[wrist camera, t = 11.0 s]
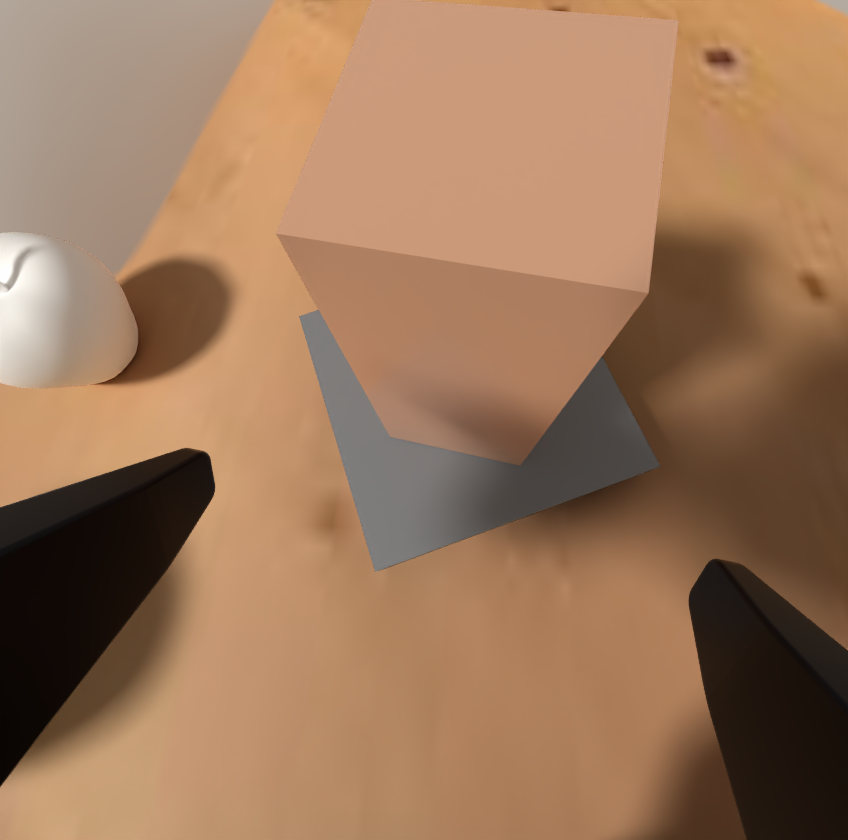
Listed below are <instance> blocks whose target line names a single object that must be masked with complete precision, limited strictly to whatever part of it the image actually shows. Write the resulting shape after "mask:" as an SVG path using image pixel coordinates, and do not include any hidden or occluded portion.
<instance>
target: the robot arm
mask: <svg viewBox="0 0 848 840" xmlns="http://www.w3.org/2000/svg"><path fill="white" fill-rule="evenodd" d="M214 492H215V482H214V476H213V471H212V465H211V459H210V456H209V455H208V454H207V453H206V452H204V451H200V450H195V449H191V448H183V449H180V450H177V451H173V452H170V453H167V454H164V455H161V456H158V457H155V458H152V459H149V460H146V461H143V462H139V463H136V464H133V465H130V466H127V467H124V468H121V469H118V470H115V471H112V472H109V473H105V474H102V475H99V476H96V477H93V478H90V479H87V480H84V481H81V482H78V483H74V484H71V485H68V486H65V487H62V488H59V489H56V490H53V491H50V492H47V493H44V494H40V495H37V496H34V497H31V498H28V499H25V500H22V501H19V502H16V503H13V504H10V505H6V506H3V507H0V787H1V785H2V784H3V783H4V781H5V780H6V779H7V778H8V776H9V775H10V774H11V772H12V771H13V770H14V768H15V767H16V766H17V765H18V763H19V762H20V761H21V759H22V758H23V757H24V755H25V754H26V753H27V752H28V750H29V749H30V748H31V746H32V745H33V744H34V742H35V741H36V740H37V739H38V737H39V736H40V735H41V733H42V732H43V731H44V729H45V728H46V727H47V726H48V724H49V723H50V722H51V720H52V719H53V718H54V716H55V715H56V714H57V713H58V711H59V710H60V709H61V707H62V706H63V705H64V703H65V702H66V701H67V700H68V698H69V697H70V696H71V694H72V693H73V692H74V690H75V689H76V688H77V687H78V685H79V684H80V683H81V681H82V680H83V679H84V677H85V676H86V675H87V674H88V672H89V671H90V670H91V668H92V667H93V666H94V664H95V663H96V662H97V661H98V659H99V658H100V657H101V655H102V654H103V653H104V651H105V650H106V649H107V648H108V646H109V645H110V644H111V642H112V641H113V640H114V638H115V637H116V636H117V635H118V633H119V632H120V631H121V629H122V628H123V627H124V625H125V624H126V623H127V622H128V620H129V619H130V618H131V616H132V615H133V614H134V612H135V611H136V610H137V609H138V607H139V606H140V605H141V603H142V602H143V601H144V599H145V598H146V597H147V596H148V594H149V593H150V592H151V590H152V589H153V588H154V586H155V585H156V584H157V583H158V581H159V580H160V579H161V577H162V576H163V575H164V573H165V572H166V570H167V569H168V568H169V566H170V565H171V563H172V562H173V560H174V559H175V557H176V556H177V554H178V553H179V551H180V549H181V548H182V546H183V545H184V543H185V541H186V540H187V538H188V537H189V535H190V533H191V532H192V530H193V529H194V527H195V525H196V524H197V522H198V521H199V519H200V517H201V516H202V514H203V513H204V511H205V509H206V508H207V506H208V505H209V503H210V501H211V500H212V498H213V495H214ZM689 609H690V615H691V620H692V626H693V631H694V637H695V642H696V648H697V653H698V659H699V664H700V670H701V675H702V681H703V686H704V691H705V695H706V700H707V704H708V707H709V711H710V715H711V718H712V722H713V725H714V729H715V732H716V736H717V739H718V743H719V746H720V749H721V753H722V756H723V760H724V763H725V767H726V770H727V774H728V777H729V780H730V784H731V787H732V791H733V794H734V798H735V801H736V805H737V808H738V812H739V815H740V818H741V822H742V825H743V829H744V832H745V836H746V839H747V840H848V651H847V650H846V649H845V648H844V647H843V646H841V645H840V644H839V643H838V642H836V641H835V640H834V639H833V638H832V637H830V636H829V635H828V634H827V633H825V632H824V631H823V630H822V629H821V628H819V627H818V626H817V625H816V624H814V623H813V622H812V621H811V620H810V619H808V618H807V617H806V616H805V615H803V614H802V613H801V612H800V611H799V610H797V609H796V608H795V607H794V606H792V605H791V604H790V603H789V602H788V601H786V600H785V599H784V598H783V597H781V596H780V595H779V594H778V593H776V592H775V591H774V590H773V589H772V588H770V587H769V586H768V585H767V584H765V583H764V582H763V581H762V580H761V579H759V578H758V577H757V576H756V575H754V574H753V573H752V572H751V571H750V570H748V569H747V568H746V567H745V566H743V565H741V564H739V563H735V562H730V561H725V560H720V559H713V560H711V561H710V562H708V564H707V565H706V567H705V568H704V570H703V571H702V573H701V575H700V576H699V578H698V579H697V581H696V583H695V584H694V586H693V587H692V589H691V591H690V594H689Z"/></svg>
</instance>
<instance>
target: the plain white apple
mask: <svg viewBox="0 0 848 840" xmlns="http://www.w3.org/2000/svg"><path fill="white" fill-rule="evenodd" d="M137 346H138V327H137V324H136V320H135V318H134V315H133V313H132V310H131V308H130V306H129V303H128V301H127V299H126V296H125V294H124V292H123V290H122V288H121V286H120V285H119V283H118V282H117V281H116V279H115V278H114V276H113V275H112V274H111V272H110V271H109V270H108V269H107V268H106V267H105V266H104V265H103V264H102V263H101V262H100V261H98V260H97V259H96V258H95V257H94V256H93V255H91V254H90V253H89V252H87V251H85V250H84V249H82V248H80V247H78V246H76V245H74V244H72V243H70V242H67V241H65V240H61V239H57V238H53V237H50V236H45V235H40V234H34V233H25V232H6V233H1V234H0V383H2V384H6V385H9V386H14V387H19V388H60V387H76V386H86V385H92V384H97V383H101V382H105V381H107V380H110V379H112V378H114V377H116V376H117V375H118V374H119V373H121V372H122V371H123V370H124V368H125V367H126V366H127V365H128V364H129V363H130V361H131V360H132V359H133V357H134V355H135V354H136V351H137Z"/></svg>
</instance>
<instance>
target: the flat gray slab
mask: <svg viewBox="0 0 848 840" xmlns="http://www.w3.org/2000/svg"><path fill="white" fill-rule="evenodd" d="M299 317H300V321H301V324H302V327H303V331H304V334H305V338H306V341H307V344H308V348H309V351H310V354H311V358H312V361H313V364H314V368H315V371H316V374H317V378H318V381H319V385H320V388H321V391H322V395H323V398H324V401H325V405H326V408H327V411H328V415H329V418H330V422H331V425H332V428H333V432H334V435H335V438H336V442H337V445H338V448H339V452H340V455H341V458H342V462H343V465H344V469H345V472H346V475H347V479H348V482H349V485H350V489H351V492H352V495H353V499H354V502H355V506H356V509H357V512H358V516H359V519H360V522H361V526H362V529H363V532H364V536H365V539H366V543H367V546H368V549H369V553H370V556H371V559H372V563H373V566H374V569H375V572H376V571H379V570H382V569H386V568H388V567H391V566H394V565H396V564H399V563H402V562H404V561H407V560H410V559H413V558H415V557H418V556H421V555H423V554H426V553H429V552H432V551H434V550H437V549H440V548H442V547H445V546H448V545H451V544H453V543H456V542H459V541H461V540H464V539H467V538H469V537H472V536H475V535H478V534H480V533H483V532H486V531H488V530H491V529H494V528H497V527H499V526H502V525H505V524H507V523H510V522H513V521H516V520H518V519H521V518H524V517H526V516H529V515H532V514H535V513H537V512H540V511H543V510H545V509H548V508H551V507H553V506H556V505H559V504H562V503H564V502H567V501H570V500H572V499H575V498H578V497H581V496H583V495H586V494H589V493H591V492H594V491H597V490H600V489H602V488H605V487H608V486H610V485H613V484H616V483H618V482H621V481H624V480H627V479H629V478H632V477H635V476H637V475H640V474H642V473H645V472H648V471H650V470H653V469H655V468H658V467H660V464H659V462H658V461H657V459H656V457H655V455H654V453H653V451H652V449H651V447H650V446H649V444H648V442H647V440H646V438H645V436H644V434H643V432H642V430H641V429H640V427H639V425H638V423H637V421H636V419H635V417H634V415H633V414H632V412H631V410H630V408H629V406H628V404H627V402H626V400H625V399H624V397H623V395H622V393H621V391H620V389H619V387H618V385H617V383H616V382H615V380H614V378H613V376H612V374H611V372H610V370H609V368H608V367H607V365H606V363H605V361H604V359H603V357H601V358H600V359H599V361H598V362H597V363H596V365H595V366H594V367H593V369H592V370H591V371H590V373H589V374H588V375H587V377H586V378H585V379H584V381H583V382H582V383H581V385H580V386H579V387H578V389H577V390H576V391H575V393H574V394H573V395H572V397H571V398H570V400H569V401H568V402H567V404H566V405H565V406H564V408H563V409H562V410H561V412H560V413H559V414H558V416H557V417H556V418H555V420H554V421H553V422H552V424H551V425H550V426H549V428H548V429H547V430H546V432H545V433H544V434H543V436H542V437H541V438H540V440H539V441H538V442H537V444H536V445H535V447H534V448H533V449H532V451H531V452H530V453H529V455H528V456H527V457H526V459H525V460H524V461H523V463H522V464H521V465H520V466H519V465H515V464H510V463H506V462H501V461H497V460H492V459H488V458H483V457H479V456H474V455H470V454H465V453H460V452H456V451H451V450H447V449H442V448H438V447H433V446H429V445H424V444H420V443H415V442H411V441H406V440H402V439H397V438H393V437H390V436H389V434H388V433H387V431H386V429H385V427H384V425H383V424H382V422H381V420H380V418H379V417H378V415H377V413H376V411H375V409H374V408H373V406H372V404H371V402H370V400H369V399H368V397H367V395H366V393H365V392H364V390H363V388H362V386H361V384H360V383H359V381H358V379H357V377H356V375H355V374H354V372H353V370H352V368H351V367H350V365H349V363H348V361H347V359H346V358H345V356H344V354H343V352H342V351H341V349H340V347H339V345H338V343H337V342H336V340H335V338H334V336H333V334H332V333H331V331H330V329H329V327H328V326H327V324H326V322H325V320H324V318H323V317H322V315H321V313H320V311H319V310H317V311H314V312H311V313H308V314H305V315H302V316H299Z"/></svg>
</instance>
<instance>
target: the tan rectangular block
mask: <svg viewBox="0 0 848 840" xmlns="http://www.w3.org/2000/svg"><path fill="white" fill-rule="evenodd" d="M677 29H678V20H667V19H654V18H641V17H628V16H615V15H602V14H588V13H575V12H562V11H549V10H536V9H523V8H509V7H496V6H483V5H470V4H457V3H444V2H430V1H417V0H371V3H370V5H369V8H368V10H367V12H366V15H365V17H364V20H363V22H362V25H361V27H360V30H359V32H358V34H357V37H356V39H355V42H354V44H353V47H352V49H351V51H350V54H349V56H348V59H347V61H346V64H345V66H344V69H343V71H342V73H341V76H340V78H339V81H338V83H337V86H336V88H335V90H334V93H333V95H332V98H331V100H330V103H329V105H328V108H327V110H326V112H325V115H324V117H323V120H322V122H321V125H320V127H319V129H318V132H317V134H316V137H315V139H314V142H313V144H312V147H311V149H310V151H309V154H308V156H307V159H306V161H305V164H304V166H303V168H302V171H301V173H300V176H299V178H298V181H297V183H296V186H295V188H294V190H293V193H292V195H291V198H290V200H289V203H288V205H287V207H286V210H285V212H284V215H283V217H282V220H281V222H280V225H279V227H278V229H277V232H276V235H277V236H278V238H279V240H280V242H281V244H282V245H283V247H284V249H285V251H286V252H287V254H288V256H289V258H290V260H291V261H292V263H293V265H294V267H295V268H296V270H297V272H298V274H299V276H300V277H301V279H302V281H303V283H304V285H305V286H306V288H307V290H308V292H309V293H310V295H311V297H312V299H313V301H314V302H315V304H316V306H317V308H318V310H319V311H320V313H321V315H322V317H323V318H324V320H325V322H326V324H327V326H328V327H329V329H330V331H331V333H332V334H333V336H334V338H335V340H336V342H337V343H338V345H339V347H340V349H341V351H342V352H343V354H344V356H345V358H346V359H347V361H348V363H349V365H350V367H351V368H352V370H353V372H354V374H355V375H356V377H357V379H358V381H359V383H360V384H361V386H362V388H363V390H364V392H365V393H366V395H367V397H368V399H369V400H370V402H371V404H372V406H373V408H374V409H375V411H376V413H377V415H378V417H379V418H380V420H381V422H382V424H383V425H384V427H385V429H386V431H387V433H388V434H389V436H390V437H393V438H397V439H402V440H406V441H411V442H415V443H420V444H424V445H429V446H433V447H438V448H442V449H447V450H451V451H456V452H460V453H465V454H470V455H474V456H479V457H483V458H488V459H492V460H497V461H501V462H506V463H510V464H515V465H519V466H520V465H521V464H522V463H523V461H524V460H525V459H526V457H527V456H528V455H529V453H530V452H531V451H532V449H533V448H534V447H535V445H536V444H537V442H538V441H539V440H540V438H541V437H542V436H543V434H544V433H545V432H546V430H547V429H548V428H549V426H550V425H551V424H552V422H553V421H554V420H555V418H556V417H557V416H558V414H559V413H560V412H561V410H562V409H563V408H564V406H565V405H566V404H567V402H568V401H569V400H570V398H571V397H572V395H573V394H574V393H575V391H576V390H577V389H578V387H579V386H580V385H581V383H582V382H583V381H584V379H585V378H586V377H587V375H588V374H589V373H590V371H591V370H592V369H593V367H594V366H595V365H596V363H597V362H598V361H599V359H600V358H601V357H602V355H603V354H604V352H605V351H606V350H607V348H608V347H609V346H610V344H611V343H612V342H613V340H614V339H615V338H616V336H617V335H618V334H619V332H620V331H621V330H622V328H623V327H624V326H625V324H626V323H627V322H628V320H629V319H630V318H631V316H632V315H633V314H634V312H635V311H636V309H637V308H638V307H639V305H640V304H641V303H642V301H643V300H644V299H645V297H646V296H647V295H648V293H649V285H650V276H651V267H652V258H653V249H654V240H655V231H656V221H657V212H658V203H659V194H660V185H661V176H662V166H663V157H664V148H665V139H666V130H667V121H668V111H669V102H670V93H671V84H672V75H673V66H674V57H675V47H676V38H677Z"/></svg>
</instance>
